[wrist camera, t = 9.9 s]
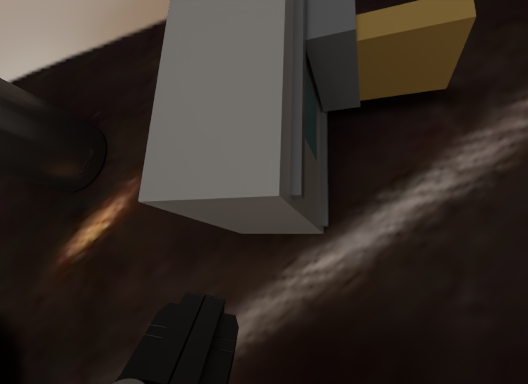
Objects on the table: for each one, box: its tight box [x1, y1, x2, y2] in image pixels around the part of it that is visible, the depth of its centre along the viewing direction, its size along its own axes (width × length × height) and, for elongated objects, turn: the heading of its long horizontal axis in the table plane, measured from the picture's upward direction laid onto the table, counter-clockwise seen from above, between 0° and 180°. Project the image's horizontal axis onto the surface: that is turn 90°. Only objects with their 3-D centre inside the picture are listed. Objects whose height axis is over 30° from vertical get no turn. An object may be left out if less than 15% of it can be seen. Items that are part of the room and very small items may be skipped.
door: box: [306, 0, 476, 112], centre depth 22 cm, size 10×8×9 cm
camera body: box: [138, 0, 329, 234], centre depth 23 cm, size 9×23×15 cm, turn 178°
